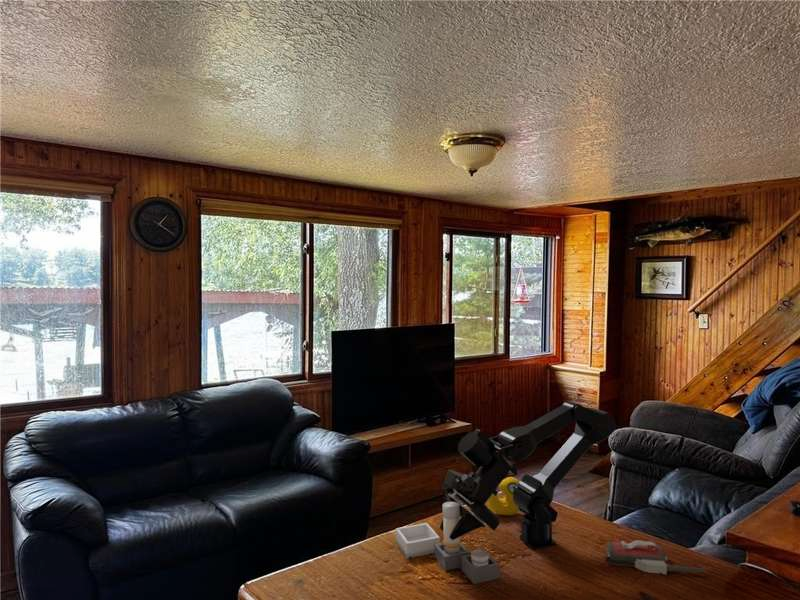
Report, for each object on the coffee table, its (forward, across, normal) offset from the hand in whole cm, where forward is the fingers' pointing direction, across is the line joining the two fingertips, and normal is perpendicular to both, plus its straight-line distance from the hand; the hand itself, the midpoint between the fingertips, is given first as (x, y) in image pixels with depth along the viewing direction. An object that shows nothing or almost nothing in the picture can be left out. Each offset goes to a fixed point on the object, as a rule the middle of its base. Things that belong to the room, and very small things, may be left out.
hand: (445, 534), depth 125 cm
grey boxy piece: (+1, +7, +8) cm, 11 cm away
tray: (+7, -9, +2) cm, 12 cm away
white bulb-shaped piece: (+4, 0, +6) cm, 7 cm away
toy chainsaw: (-24, +18, +34) cm, 46 cm away
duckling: (-14, -16, +23) cm, 31 cm away
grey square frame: (+4, 0, +6) cm, 7 cm away
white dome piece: (+1, +7, +8) cm, 11 cm away
